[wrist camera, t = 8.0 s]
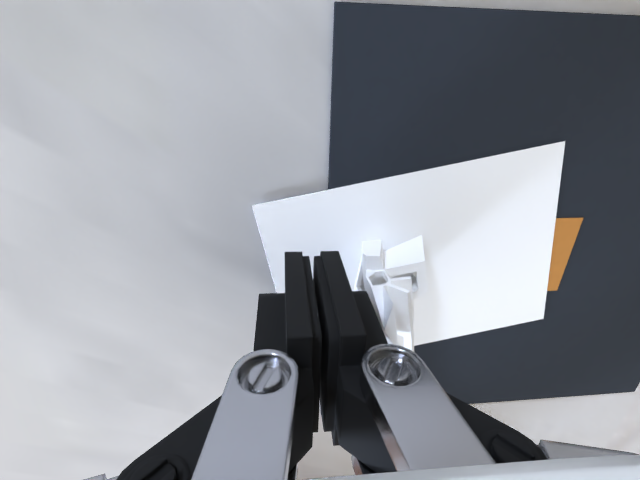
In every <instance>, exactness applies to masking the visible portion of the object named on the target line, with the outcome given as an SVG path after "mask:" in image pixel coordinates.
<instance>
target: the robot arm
mask: <svg viewBox="0 0 640 480" xmlns="http://www.w3.org/2000/svg"><path fill="white" fill-rule="evenodd" d="M319 397H320V405H321V413H322V421H323V429H324V432H327V431H331V432H332V439H333V446H334V445H340V446H341V447H343V448H344V449H345V450H346V451H348V452H349V453H350V454H352V457H351V459H352V465H353V469H354V472H355V475H351V476H339V477H328V478H316V479H304V480H640V455H639V454H635V453H630V452H624V451H617V450H610V449H603V448H596V447H589V446H582V445H575V444H568V443H561V442H554V441H547V440H540V443H539V445H536V444H535V443H534V442H533V441H532V440H530V439H529V438H527V437H526V436H524V435H523V434H521V433H520V432H518V431H516V430H515V429H513V428H511V427H509V426H507V425H505V424H504V423H502V422H500V421H498V420H496V419H494V418H492V417H491V416H489V415H487V414H485V413H483V412H481V411H480V410H478V409H476V408H474V407H472V406H470V405H468V404H467V403H465V402H463V401H461V400H459V399H457V398H456V397H454V396H452V395H450V394H448V393H446V392H445V391H444V389H443V388H442V386H441V385H440V384H439V382H438V381H437V379H436V378H435V377H434V375H433V374H432V372H431V371H430V370H429V368H428V367H427V365H426V364H425V363H424V361H423V360H422V359H421V358H420V357H419V356H418V355H417V354H416V353H414V352H413V351H411V350H410V349H408V348H405V347H402V346H400V345H394V344H388V342H387V340H386V337H385V335H384V332H383V330H382V327H381V325H380V322H379V320H378V317H377V315H376V312H375V310H374V307H373V305H372V303H371V300H370V298H369V295H368V293H367V291H352V289H351V286H350V283H349V280H348V277H347V275H346V272H345V269H344V266H343V263H342V260H341V257H340V254H339V251H321V252H320V256H314V265H313V277H312V271H311V265H310V258H309V256H303V254H302V251H301V252H285V293H270V294H259V300H258V311H257V321H256V331H255V341H254V352H251V353H249V354H247V355H245V356H243V357H242V358H241V359H240V360H238V361H237V362H236V363H235V365H234V367H233V368H232V370H231V373H230V375H229V378H228V381H227V383H226V386H225V389H224V392H223V394H222V396H220V397H219V398H218V399H216V400H215V401H214V402H212V403H211V404H210V405H208V406H207V407H206V408H204V409H203V410H202V411H200V412H199V413H197V414H196V415H195V416H193V417H192V418H191V419H189V420H188V421H187V422H185V423H184V424H183V425H181V426H180V427H179V428H177V429H176V430H175V431H173V432H172V433H171V434H169V435H168V436H167V437H165V438H164V439H163V440H161V441H160V442H159V443H157V444H156V445H154V446H153V447H152V448H150V449H149V450H148V451H146V452H145V453H144V454H142V455H141V456H140V457H138V458H137V459H136V460H134V461H133V462H132V463H131V464H130V465H129V466H128V467H127V468H126V469H124V470H123V471H122V473H121V474H120V475H119V476H117V477H113V478H110V479H107V478H106V475H105V474H102V475H98V476H95V477H91V478H88V479H84V480H297V464H298V462H299V461H300V460H301V459H302V457H303V456H304V455H305V454H306V453H307V452H308V451H309V450H310V449H311V447H312V437H313V432H318V420H319Z"/></svg>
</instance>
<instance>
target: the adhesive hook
mask: <svg viewBox="0 0 640 480" xmlns="http://www.w3.org/2000/svg"><path fill="white" fill-rule="evenodd" d="M353 291H367V293H368V295H369V298H370V300H371V303H372V305H373V307H374V310H375V312H376V315H377V317H378V320H379V322H380V325H381V327H382V330H383V332H384V335H385V337H386V340H387V342H388V344H394V345H399V341H398V336H400V337H402V338H403V347H405V348H408V349H410V350H411V351H413V352H414V346H415V331H414V326H415V325H416V319H415V306H414V301H415V300H416V299H418V298H420V297H422V296H423V295H425V294H427V293H428V292H429V283H428V274H427V265H426V256H425V247H424V238H423V235H422V234H420V235H418V236H416V237H413V238H411V239H409V240H406V241H404V242H402V243H399V244H397V245H395V246H393V247H390V248H388V249H386V250H384V246H383V239H382V238H381V239H371V240H362V241H361V256H360V260H359V265H358V269H357V273H356V278H355V282H354V287H353Z"/></svg>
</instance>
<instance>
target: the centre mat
mask: <svg viewBox="0 0 640 480" xmlns="http://www.w3.org/2000/svg"><path fill="white" fill-rule="evenodd" d="M563 141H565V148H564V157H563V165H562V173H561V181H560V189H559V197H558V205H557V213H556V222H555V230H554V238H553V246H552V254H551V262H550V270H549V278H548V287H547V295H546V303H545V311H544V319H540V320H535V321H531V322H526V323H521V324H516V325H511V326H507V327H502V328H497V329H492V330H488V331H483V332H478V333H473V334H468V335H464V336H459V337H454V338H449V339H445V340H440V341H435V342H430V343H425V344H421V345H416V346H414V353H416V354H417V355H418V356H419V357H420V358H421V359H422V360H423V361H424V363H425V364H426V365H427V367H428V368H429V370H430V371H431V372H432V374H433V375H434V377H435V378H436V379H437V381H438V382H439V384H440V385H441V386H442V388H443V389H444V391H445V392H446V393H448V394H450V395H452V396H454V397H456V398H457V399H459V400H461V401H463V402H465V403H467V404H473V403H487V402H500V401H514V400H527V399H541V398H554V397H568V396H581V395H595V394H608V393H622V392H634V391H635V390H636V388H637V386H638V384H639V382H640V16H636V15H614V14H592V13H570V12H548V11H526V10H504V9H482V8H460V7H438V6H416V5H394V4H372V3H350V2H335V3H334V32H333V63H332V93H331V123H330V153H329V183H328V190H329V189H334V188H339V187H343V186H348V185H353V184H358V183H363V182H368V181H373V180H378V179H382V178H387V177H392V176H397V175H402V174H407V173H412V172H417V171H421V170H426V169H431V168H436V167H441V166H446V165H451V164H456V163H460V162H465V161H470V160H475V159H480V158H485V157H490V156H495V155H499V154H504V153H509V152H514V151H519V150H524V149H529V148H533V147H538V146H543V145H548V144H553V143H558V142H563ZM321 415H322V413H321Z"/></svg>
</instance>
